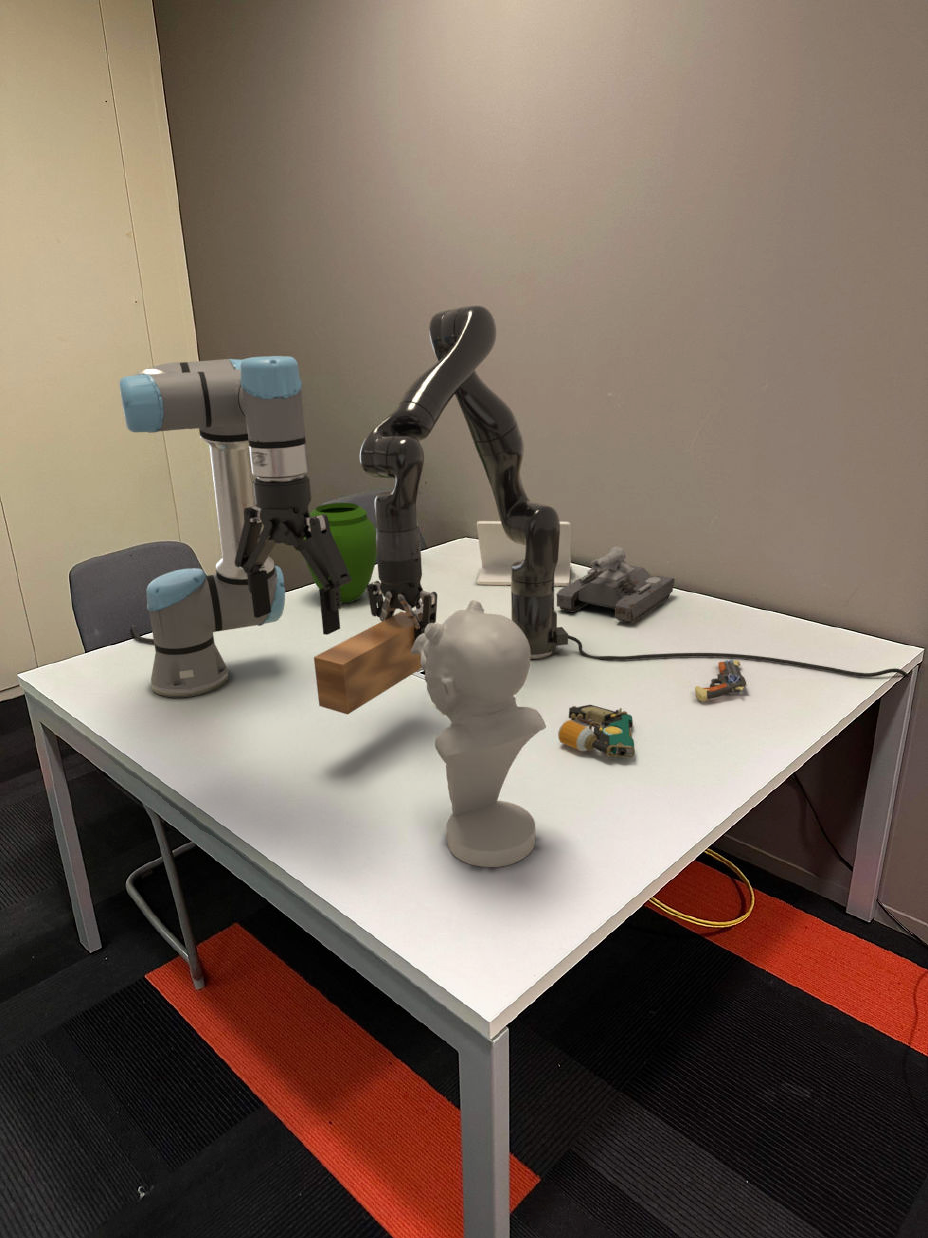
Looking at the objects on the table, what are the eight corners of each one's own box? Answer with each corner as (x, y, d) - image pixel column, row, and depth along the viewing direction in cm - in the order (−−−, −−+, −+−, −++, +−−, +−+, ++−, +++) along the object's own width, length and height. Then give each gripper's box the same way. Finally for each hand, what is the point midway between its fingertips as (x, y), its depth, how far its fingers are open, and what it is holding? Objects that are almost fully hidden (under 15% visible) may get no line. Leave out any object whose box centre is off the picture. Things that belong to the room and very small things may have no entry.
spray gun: (574, 713, 161) (653, 730, 155) (544, 749, 146) (630, 769, 140) (576, 692, 159) (656, 709, 153) (546, 727, 145) (632, 746, 139)
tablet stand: (569, 585, 229) (570, 524, 223) (476, 584, 232) (475, 523, 226) (570, 566, 246) (571, 508, 240) (484, 564, 249) (483, 507, 243)
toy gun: (696, 691, 161) (751, 688, 159) (689, 658, 179) (739, 655, 177) (697, 705, 162) (752, 702, 159) (690, 670, 179) (740, 667, 177)
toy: (603, 584, 229) (605, 530, 224) (673, 597, 218) (677, 540, 213) (555, 612, 210) (556, 553, 205) (630, 627, 199) (633, 566, 194)
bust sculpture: (481, 772, 140) (476, 569, 128) (565, 848, 120) (569, 617, 108) (392, 800, 134) (378, 588, 121) (465, 886, 114) (457, 642, 101)
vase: (396, 593, 227) (391, 503, 219) (349, 616, 212) (341, 520, 203) (340, 582, 237) (333, 496, 228) (291, 603, 222) (281, 511, 213)
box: (404, 655, 158) (400, 611, 154) (431, 662, 154) (428, 617, 151) (319, 706, 140) (313, 657, 137) (347, 714, 137) (342, 664, 133)
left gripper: (197, 473, 119) (217, 615, 126) (331, 490, 106) (344, 648, 113) (238, 464, 125) (254, 601, 132) (370, 479, 112) (380, 630, 119)
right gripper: (352, 553, 147) (360, 642, 153) (419, 564, 139) (425, 658, 145) (379, 542, 152) (386, 629, 158) (445, 552, 145) (450, 643, 151)
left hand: (296, 623), depth 123 cm, fingers open, 13 cm apart
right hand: (405, 642), depth 152 cm, fingers closed on box, 6 cm apart
